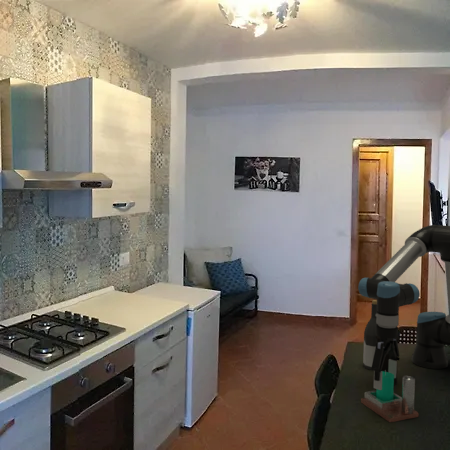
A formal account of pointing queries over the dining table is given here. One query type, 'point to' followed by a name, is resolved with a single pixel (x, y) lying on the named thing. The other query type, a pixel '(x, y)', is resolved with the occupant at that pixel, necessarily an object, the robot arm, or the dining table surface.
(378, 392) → the candle
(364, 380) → the dining table surface
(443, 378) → the dining table surface
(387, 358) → the container
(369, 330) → the wine bottle
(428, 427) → the dining table surface
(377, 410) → the brown stand with post
